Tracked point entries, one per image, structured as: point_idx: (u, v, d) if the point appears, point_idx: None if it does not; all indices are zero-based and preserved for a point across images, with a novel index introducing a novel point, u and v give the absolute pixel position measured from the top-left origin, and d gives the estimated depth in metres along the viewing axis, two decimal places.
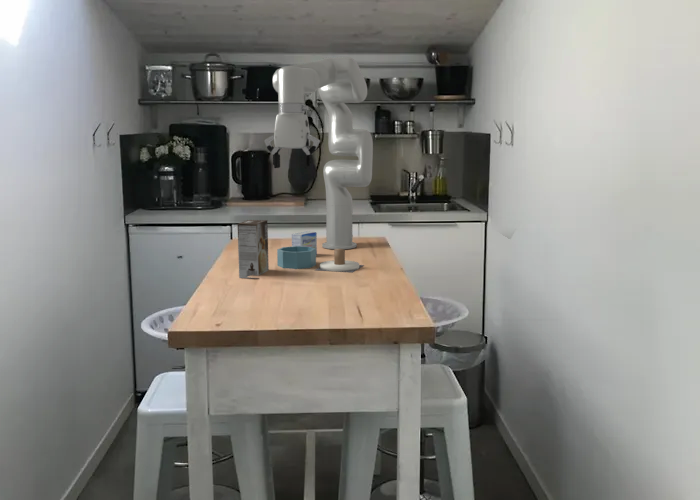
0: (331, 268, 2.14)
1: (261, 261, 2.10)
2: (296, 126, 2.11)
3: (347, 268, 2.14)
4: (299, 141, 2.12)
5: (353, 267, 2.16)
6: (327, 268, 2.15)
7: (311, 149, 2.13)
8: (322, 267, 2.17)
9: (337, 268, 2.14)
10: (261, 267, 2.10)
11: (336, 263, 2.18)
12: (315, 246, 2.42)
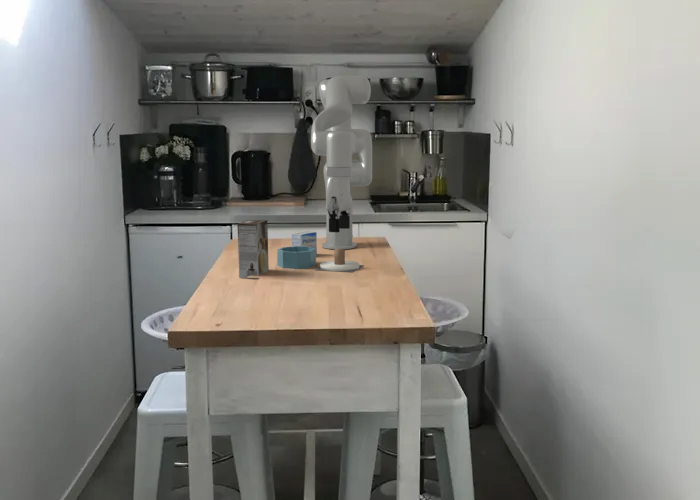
0: (331, 268, 2.14)
1: (261, 261, 2.10)
2: (349, 189, 2.17)
3: (347, 268, 2.14)
4: (349, 203, 2.19)
5: (353, 267, 2.16)
6: (327, 268, 2.15)
7: (348, 209, 2.22)
8: (322, 267, 2.17)
9: (337, 268, 2.14)
10: (261, 267, 2.10)
11: (336, 263, 2.18)
12: (315, 246, 2.42)
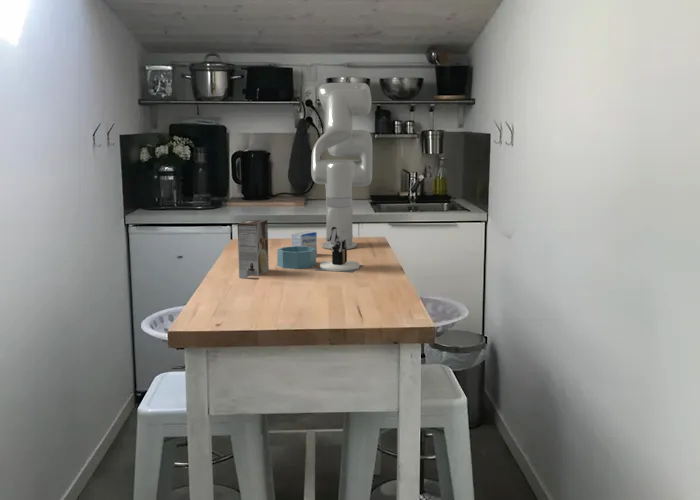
0: (331, 268, 2.14)
1: (261, 261, 2.10)
2: (349, 218, 2.19)
3: (347, 268, 2.14)
4: (349, 232, 2.21)
5: (353, 267, 2.16)
6: (327, 268, 2.15)
7: None
8: (322, 267, 2.17)
9: (337, 268, 2.14)
10: (261, 267, 2.10)
11: None
12: (315, 246, 2.42)
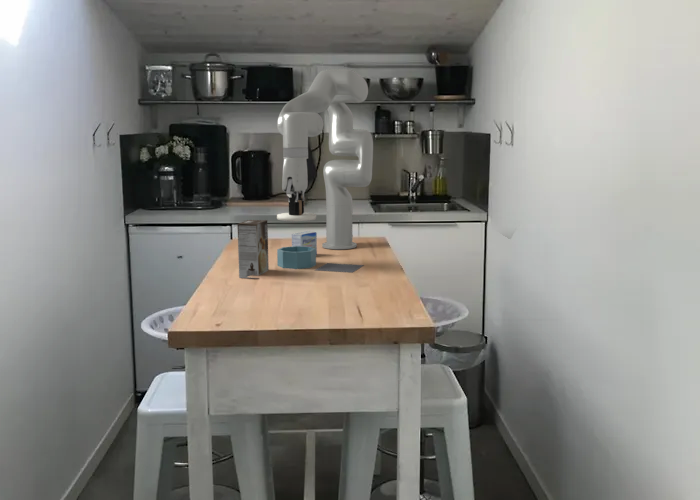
0: (287, 218, 2.16)
1: (261, 261, 2.10)
2: (306, 169, 2.21)
3: (303, 218, 2.16)
4: (306, 183, 2.22)
5: (309, 217, 2.17)
6: (283, 218, 2.17)
7: None
8: (279, 217, 2.18)
9: (293, 218, 2.16)
10: (261, 267, 2.10)
11: None
12: (315, 246, 2.42)
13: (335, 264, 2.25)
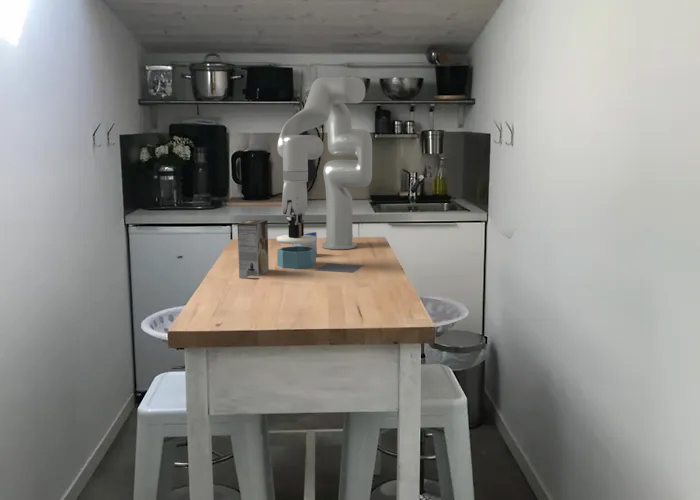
0: (287, 241, 2.17)
1: (261, 261, 2.10)
2: (305, 192, 2.22)
3: (302, 241, 2.17)
4: (306, 206, 2.23)
5: (309, 240, 2.18)
6: (283, 241, 2.18)
7: None
8: (278, 240, 2.19)
9: (293, 241, 2.17)
10: (261, 267, 2.10)
11: None
12: (315, 246, 2.42)
13: (335, 264, 2.25)
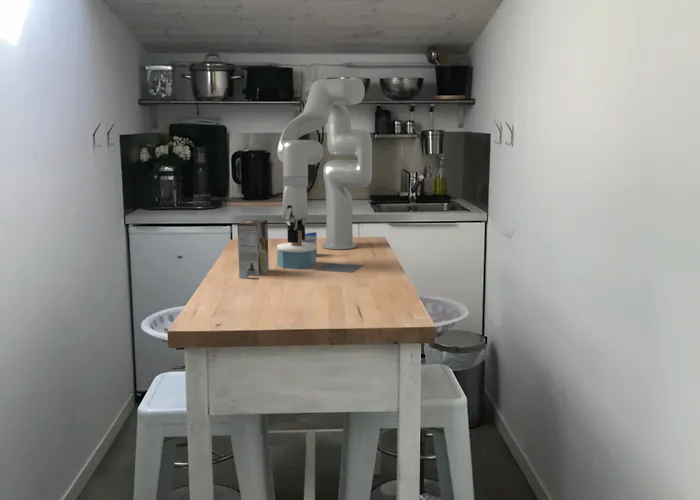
0: (287, 249, 2.18)
1: (261, 261, 2.10)
2: (305, 197, 2.22)
3: (303, 249, 2.18)
4: (306, 211, 2.24)
5: (309, 248, 2.19)
6: (283, 249, 2.18)
7: None
8: (279, 248, 2.20)
9: (293, 249, 2.17)
10: (261, 267, 2.10)
11: (293, 244, 2.22)
12: None
13: (335, 264, 2.25)
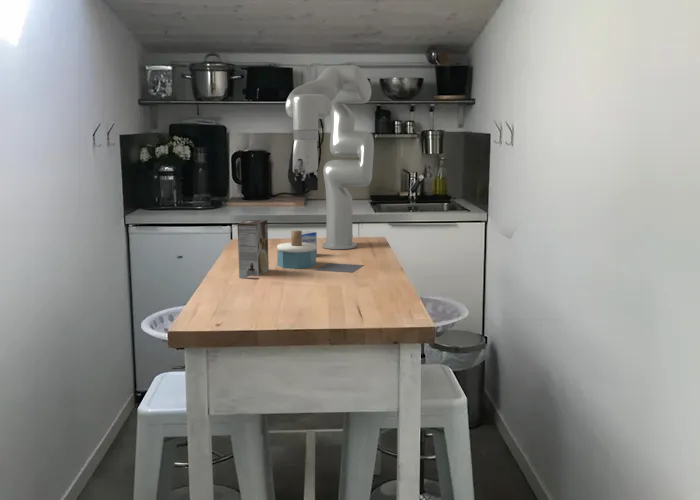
0: (287, 249, 2.18)
1: (261, 261, 2.10)
2: (316, 151, 2.23)
3: (303, 249, 2.18)
4: (316, 165, 2.24)
5: (309, 248, 2.19)
6: (283, 249, 2.18)
7: (316, 171, 2.28)
8: (279, 248, 2.20)
9: (293, 249, 2.17)
10: (261, 267, 2.10)
11: (293, 244, 2.22)
12: None
13: (335, 264, 2.25)
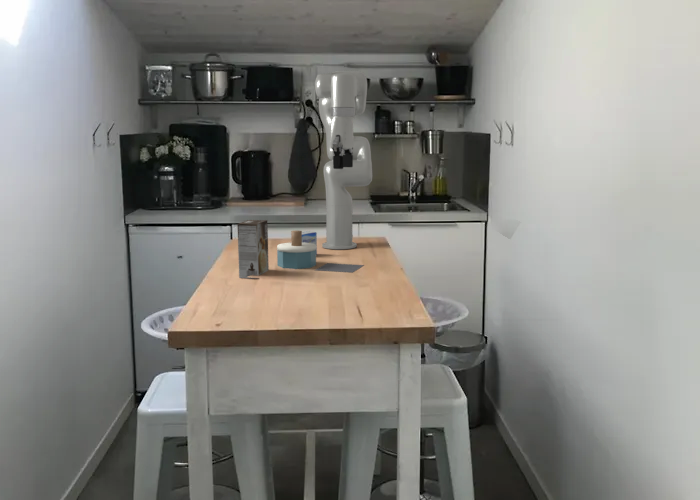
0: (287, 249, 2.18)
1: (261, 261, 2.10)
2: (352, 129, 2.31)
3: (303, 249, 2.18)
4: (352, 142, 2.32)
5: (309, 248, 2.19)
6: (283, 249, 2.18)
7: (351, 149, 2.36)
8: (279, 248, 2.20)
9: (293, 249, 2.17)
10: (261, 267, 2.10)
11: (293, 244, 2.22)
12: None
13: (335, 264, 2.25)
